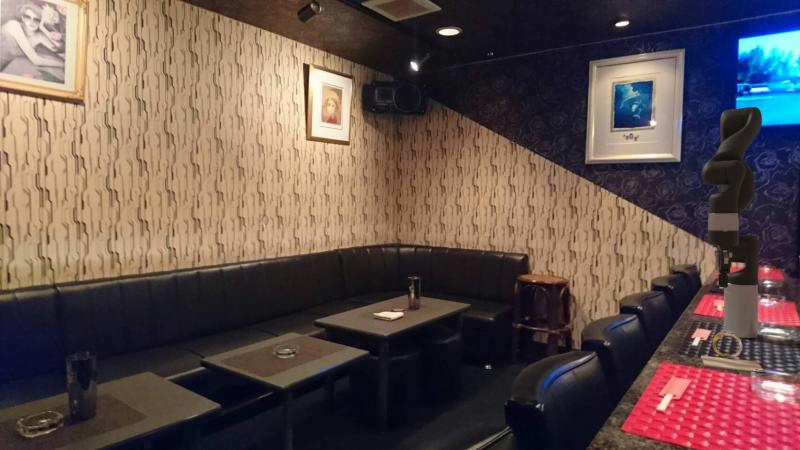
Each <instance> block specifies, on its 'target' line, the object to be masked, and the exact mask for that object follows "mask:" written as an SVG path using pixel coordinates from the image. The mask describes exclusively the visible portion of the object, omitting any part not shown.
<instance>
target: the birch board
mask: <svg viewBox="0 0 800 450" xmlns="http://www.w3.org/2000/svg"><path fill="white" fill-rule="evenodd" d="M700 357H701V361H702V362H703V365H704V367H705V368H715V369H724V370H734V371H743V372H744V371H745V372H751V373H753V372H752V371H753V370H755V369H758V370H764V369H763V367H762V366H761V364H760V363H759V362H758V361H756V360H745V359H736V358H725V357H719V356H718V357H716V356H709V355H708V356H707V355H701V356H700Z"/></svg>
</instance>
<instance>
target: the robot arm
mask: <svg viewBox="0 0 800 450" xmlns="http://www.w3.org/2000/svg"><path fill="white" fill-rule="evenodd" d="M719 125H720V126H719V127H720V129H719V131H720V146H719V147H718V149H717V152H716V154H714V155H713V156H712V157H711V158H710V159H709V160H708V161H707V162H705V164H704V166H703V168H702V170H701V179H702V181H703V183H705V184H707V185H708V186H720V192H718V193H713V194H711V195H709V198H708V200H709V201H708V209H709V210H708V220H707V226H708V227H707V243H708V245H710V246H711V245H712V246H716V250H714V253H713V254H714V259H715V261H714V264H715V269H716V273H717V274H718V275H717V285H718V287H719V288H723V331H725V329H727V330H730V331H733V332H732V333H734V332H735V335H736V336H738V337H739V338H741V339H745V338H746V339H755V338H758V337H759V336H758V335H759V334H758V331H759V330H758V329H759V262H760V261H759V260H760V259H759V258H760V247H761V246H760V241H759V238H758V237H757V236H755V235H748V234H745V235H742V234H741V235H740V234H739V233H740V232H739V228H740V226H739V225H740V224H739V217H740V216H741V214H742V213H743V212H744V210H746V209H747V207H748V206H749V204H750V203H752V200H753V199H754V196H755V182H756V181H755V179H756V178H755V177H756V176H755V173H754V172H753V170H752V169H751V168H750V166H749V165H748V163H747V162H746V161H745V160H744V157H745V155H746V152H747V150H748V148H749V146H750V145H751V144H752V143H753V141H754V140H755V139H756V138H757V136H758V134H759V133H760V131H761V129H762V126H763V115H762V111H761V109H760V108H759V107H757V106H747V107H739V108H732V109H727V110H726V109H725V110H724V111H723V112H722V113H721V116H720V124H719ZM732 263H736V264H737V263H739V264H744V267H743V268H741V269H739V270H735V271H732V272H731V266H732Z"/></svg>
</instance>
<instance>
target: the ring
mask: <svg viewBox="0 0 800 450" xmlns="http://www.w3.org/2000/svg"><path fill="white" fill-rule="evenodd" d="M732 332H733V331H730V330H727V329H725V331H724V329H721V331H720V332H717V333H716V334H715V335H714V337H713V339H712V348H713V351H714V352H715V353H716V354H717V355H719V356H720V357H722V358H728V359H734V358H736V357H738V356H739V355H740V354H741V352H742V350H743V343H742V340H741V339H740V337H738V336H736V335H735V332H734V333H732ZM723 337H731V338H733V339H734V340H736V342H737V343H738V344H739V345H738V346H739V347H738V349H737V352H734V353H732V354H729V353H725V354H724V353H723V352H721V351H719V350H718V349H717V345H716V343H717V341H718V340H719V339H721V338H723Z"/></svg>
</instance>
